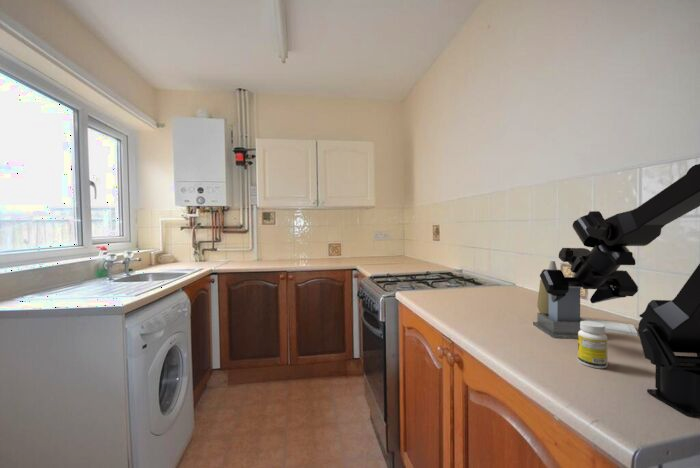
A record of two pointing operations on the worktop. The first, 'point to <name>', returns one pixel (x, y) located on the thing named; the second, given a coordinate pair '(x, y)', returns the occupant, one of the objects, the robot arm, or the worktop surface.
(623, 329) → the hard drive
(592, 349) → the supplement bottle
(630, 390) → the worktop surface
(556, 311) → the grey tall block
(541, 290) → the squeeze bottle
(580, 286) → the robot arm
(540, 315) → the pocket plate
